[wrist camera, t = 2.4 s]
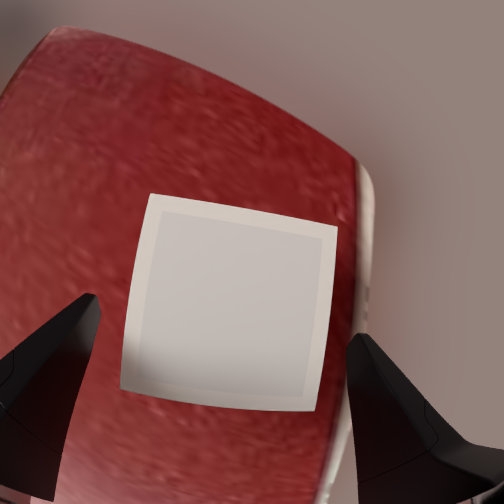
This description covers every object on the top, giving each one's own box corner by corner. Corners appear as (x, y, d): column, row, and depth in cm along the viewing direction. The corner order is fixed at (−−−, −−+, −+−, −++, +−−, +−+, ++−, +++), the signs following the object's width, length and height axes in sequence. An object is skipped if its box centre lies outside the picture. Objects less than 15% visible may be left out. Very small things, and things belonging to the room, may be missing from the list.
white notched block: (259, 358, 17) (314, 411, 8) (163, 345, 16) (119, 388, 7) (271, 265, 18) (337, 226, 9) (177, 249, 17) (150, 193, 8)
